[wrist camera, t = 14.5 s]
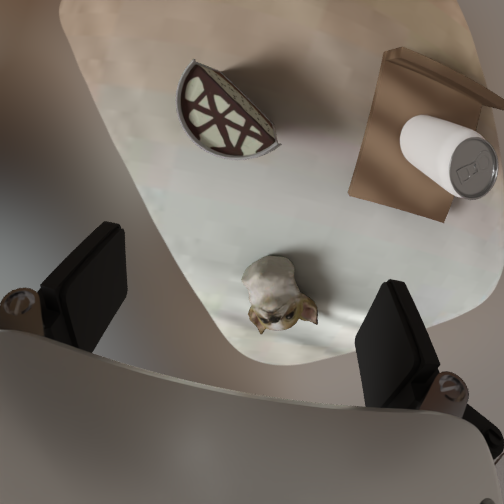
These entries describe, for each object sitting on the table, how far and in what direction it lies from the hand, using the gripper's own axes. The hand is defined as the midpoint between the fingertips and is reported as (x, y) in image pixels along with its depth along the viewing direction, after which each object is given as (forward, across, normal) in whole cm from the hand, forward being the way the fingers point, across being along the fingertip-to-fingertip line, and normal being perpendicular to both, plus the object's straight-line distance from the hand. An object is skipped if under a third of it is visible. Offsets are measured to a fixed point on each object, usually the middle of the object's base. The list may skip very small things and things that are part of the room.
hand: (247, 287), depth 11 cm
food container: (+31, +6, -2) cm, 31 cm away
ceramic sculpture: (+31, -5, +22) cm, 38 cm away
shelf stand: (+30, -17, -5) cm, 35 cm away
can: (+26, -17, -5) cm, 32 cm away
